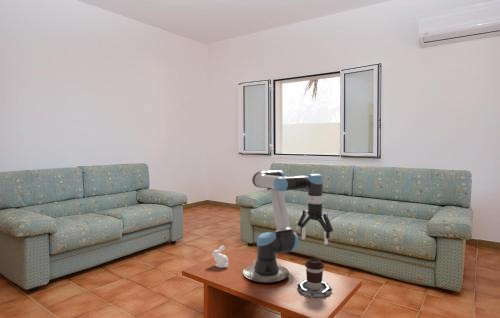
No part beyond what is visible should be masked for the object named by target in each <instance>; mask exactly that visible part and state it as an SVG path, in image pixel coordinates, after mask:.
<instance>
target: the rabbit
mask: <svg viewBox="0 0 500 318" xmlns="http://www.w3.org/2000/svg"><path fill="white" fill-rule="evenodd" d="M225 250H226V246H225V245H223V244H222V245H221V246H219V248H218V249H215V250H213V251H212V256H213V257H214V259H213V260H214V261H215V262H216V263H215V264H214V266H215V267H217V268H219V269H220V268H221V269H222V268H227V267H229V258H228V256H227V255H225V254H222V253H220V252H222V251H225Z"/></svg>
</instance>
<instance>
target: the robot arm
mask: <svg viewBox="0 0 500 318" xmlns="http://www.w3.org/2000/svg"><path fill="white" fill-rule="evenodd" d="M252 175H253V176H252V180H251V182H252V184H253V186H255V187H256V188H258V189H266V190H267V192H268V193H269V194H270V197H271V204H272V210H273V215H274V221H275V226H276V227H275V228H276V230H275V231H274V232H271V231H270V232H269V231H267V232H263V233H260V234H259V235H258V236H257V240H256V254H257V255H256V262H255V265H254V268H253V269H254V270H255V272H256V273H257V274H256V273H255V272H254V273H255V274H256V275H258V274H259V275H258V276H261V275H262V277H271V276H276V275H277V274H278V273H279V271H280V270H279V269H280V268H279V265H278V262H277V254H286V253H290V252H295V251H296V250H297V249H298V246H299V241H300V240H299V236H298V234H297V232H294V230H293V228H292V227H291V226H290V220H289V215H288V210H287V204H286V200H285V199H286V198H285V194H284V191H298V190H299V191H301V190H306V191H307V193H308V194H307V202H308V203H307V209H308V210H307V209H303V210H302V214H301V216H300V219H299V221H298V222H297V226H298V227H300V233H301V240H306V234H307V233H306V231H307V230H306V225H307V224H308V223H309V221H310V220H312V221H316V222H318V223H319V224H320V226H321V227H322V228H323V230H324V238H323V240H324V241H323V243H324V244H323V245H325V246H326V245H328V244H329V239H330V233H332V232H333V231H334V229H333V226H332V224H331V221H330V218H329V216H328V215H329V214H328V212H325V213H323V187H324V185H323V184H324V182H323V181H324V179H323V175H322V174H320V173H309V174H308V175H305V174H304V175H300V174H299V175H296V176H287V175H286V173H285V172H284V171H283V170H282V169H281V170H279V169H274V170H272V169H271V170H259V171H257V172H255V173H254V174H252ZM307 215H308V216H307ZM306 216H307V217H306ZM305 218H306V219H305ZM254 270H253V271H254Z"/></svg>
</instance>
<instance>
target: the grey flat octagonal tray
mask: <svg viewBox="0 0 500 318" xmlns="http://www.w3.org/2000/svg"><path fill="white" fill-rule="evenodd" d="M296 285H297V290H298V292H299V293H300V294H301V295H302V296H303V295H304V296H305V297H309V298H315V299H319V298H320V299H322V298H327V297H328V296H330V295H331V294H332V291H333V287H331V285H329V283H328V282H325V281H322V283H321V289H319V290H311V289H309V288H308V284H307V279H303V281H302V282H299V283H297V284H296Z"/></svg>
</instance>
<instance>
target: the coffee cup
mask: <svg viewBox="0 0 500 318" xmlns="http://www.w3.org/2000/svg"><path fill="white" fill-rule="evenodd" d="M304 264H305V265H304V266H305V268H306V270H305V271H306V272H305V273H306V274H305V275H306V280H307V284H308V288H309V289H311V290H319V289H321V283H322V282H323V274H324V273H323V272H324V271H323V269H324V267H325V265H324V263H323V262H322V261H321V259H318V258H309V259H308V260H306V262H305V263H304Z"/></svg>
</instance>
